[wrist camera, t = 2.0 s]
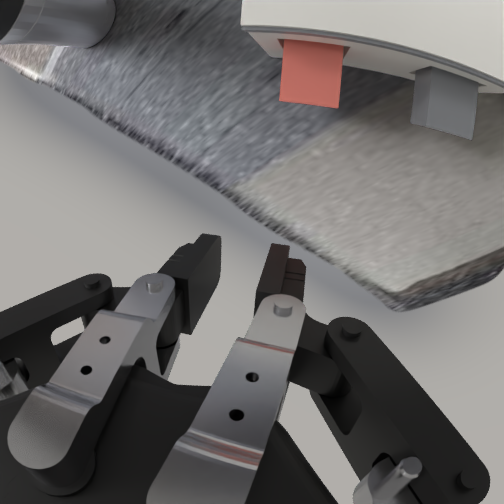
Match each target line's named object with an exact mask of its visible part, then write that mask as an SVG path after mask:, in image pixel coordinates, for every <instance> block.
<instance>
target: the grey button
mask: <svg viewBox="0 0 504 504" xmlns="http://www.w3.org/2000/svg"><path fill="white" fill-rule="evenodd" d="M478 86H479V82H476V81H473V80H471V79H468V78H466V77H463V76H460V75H457V74H454V73H452V72H449V71H446V70H443V69H440V68H436V67H433V66H428V67H425V68H422V69H419V70H416V73H415V85H414V95H413V104H412V113H411V121H410V123H411V124H415V125H419V126H423V127H427V128H431V129H434V130H438V131H441V132H445V133H448V134H452V135H455V136H459V137H462V138H466V139H469V140H472V138H473V131H474V124H475V116H476V108H477V98H478Z"/></svg>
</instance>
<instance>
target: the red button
mask: <svg viewBox="0 0 504 504" xmlns="http://www.w3.org/2000/svg"><path fill="white" fill-rule="evenodd" d="M343 49H344V46H342V45H336V44H329V43H321V42H313V41H303V40H292V39H284V49H283V61H282V74H281V86H280V99H279V101H282V102H290V103H299V104H307V105H315V106H322V107H329V108H338V106H339V96H340V86H341V74H342V62H343Z"/></svg>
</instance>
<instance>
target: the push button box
mask: <svg viewBox="0 0 504 504" xmlns="http://www.w3.org/2000/svg"><path fill="white" fill-rule="evenodd" d="M240 25H241V26H242V28H241V30H242V31H243V32H248V33H249V34H250V35H251V36H252V37H253V38H254V39H255V41H256V42H257V43H258V44H259V45H260V46H261V47H262V48H263V49H264V50H265V51H266V52H267V54H268V55H269V56H270V57H273V58H283V49H284V39H292V40H303V41H313V42H321V43H329V44H336V45H342V46H344V49H343V62H342V65H344V66H350V67H356V68H361V69H367V70H372V71H376V72H381V73H386V74H390V75H394V76H399V77H403V78H407V79H410V80H414V81H415V73H416V70H419V69H422V68H425V67H428V66H433V67H436V68H440V69H443V70H446V71H449V72H452V73H454V74H457V75H460V76H463V77H466V78H468V79H471V80H473V81H476V82H479V86H478V93H504V0H243V1H242V12H241V24H240Z"/></svg>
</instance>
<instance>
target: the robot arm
mask: <svg viewBox="0 0 504 504" xmlns="http://www.w3.org/2000/svg"><path fill="white" fill-rule="evenodd" d="M115 10H116V8H115V3H114V1H113V0H0V45H4V44H27V45H50V46H63V47H74V48H88V47H91V46H93V45H95V44H97V43H98V42H100V41H101V40H102V39H103V38H104V37H105V35H106V34H107V33H108V31H109V30H110V28H111V26H112V24H113V21H114V18H115ZM289 249H290V246H288V245H281V244H274V243H272V244H271V247H270V250H269V253H268V256H267V259H266V262H265V266H264V268H263V272H262V275H261V278H260V281H259V284H258V287H257V290H256V298H255V308H254V319H253V320H252V323H251V325H250V327H249V329H248V331H247V333H246V335H245V337H244V338H240V337H238V338H237V339H236V341H235V343H234V344H233V346H232V348H231V350H230V352H229V354H228V356H227V358H226V360H225V362H224V364H223V366H222V368H221V370H220V371H219V373H218V375H217V377H216V379H215V381H214V383H213V385H212V386H192V385H176V384H173V383H171V382H169V381H167V380H168V377H169V375H170V372H171V369H172V367H173V364H174V361H175V359H176V356H177V354H178V351H179V348H180V339H179V335H180V333H185V334H189V335H191V334H192V332H193V330H194V328H195V327H196V325H197V322H198V321H199V319H200V317H201V315H202V313H203V311H204V309H205V307H206V305H207V304H208V302H209V300H210V298H211V296H212V294H213V292H214V291H215V289H216V287H217V285H218V282H219V278H220V272H221V237H220V236H217V235H210V234H201V235H200V237H199V238H198V239H197V240H196V242H195V243H194V244H190V243H188V244H186V245H184V246H181V247H179V248H178V249H177V250H176V252H175V253H174V254H173V255H172V256H171V257H170V258H169V260H168V261H167V262H166V263H165V264H164V265H163V266H162V268H161V269H160V270H159V271H158V272H157V273H153V274H147V275H144V276H142V277H140V278H139V279H137V280H136V281H135V283H134V284H133V285H132V287H112V282H111V279H110V277H108V276H107V275H104V274H89V275H86V276H83V277H81V278H78V279H76V280H73V281H71V282H69V283H66V284H64V285H62V286H59V287H57V288H54V289H52V290H50V291H47V292H45V293H43V294H40V295H38V296H36V297H34V298H31V299H29V300H27V301H24V302H22V303H20V304H18V305H15V306H13V307H11V308H9V309H6V310H4V311H2V312H0V504H338V503H337V501H336V500H335V499H334V497H333V496H332V495H331V493H330V492H329V490H328V489H327V488H326V486H325V485H324V484H323V482H322V481H321V479H320V478H319V477H318V475H317V474H316V473H315V471H314V470H313V468H312V467H311V466H310V464H309V463H308V461H307V460H306V458H305V457H304V455H303V454H302V453H301V451H300V450H299V448H298V447H297V445H296V444H295V442H294V441H293V439H292V438H291V437H290V435H289V433H288V432H287V431H286V430H285V428H284V427H283V426H282V425H281V424H280V423H279V422H278V421H279V417H280V414H281V410H282V407H283V403H284V400H285V397H286V393H287V389H288V386H289V383H290V382H293V383H295V384H297V385H300V386H302V387H305V388H307V389H309V390H310V395H311V397H312V399H313V401H314V402H315V404H316V406H317V408H318V409H319V411H320V413H321V414H322V416H323V418H324V420H325V421H326V423H327V425H328V427H329V428H330V430H331V432H332V434H333V435H334V437H335V439H336V440H337V442H338V444H339V446H340V447H341V449H342V451H343V453H344V454H345V456H346V458H347V459H348V461H349V463H350V464H351V466H352V468H353V469H354V471H355V473H356V475H357V476H358V478H359V480H360V483H359V484H358V485H357V486H356V488H355V490H354V493H353V503H354V504H479V503H480V502H481V501H482V500H483V499H484V498H485V496H486V495H487V493H488V491H489V487H490V476H489V472H488V470H487V468H486V467H485V465H484V464H483V462H482V461H481V460H480V459H479V457H478V456H477V455H476V454H475V452H474V451H473V450H472V448H471V447H470V446H469V445H468V443H467V442H466V441H465V440H464V438H463V437H462V436H461V435H460V433H459V432H458V431H457V430H456V429H455V427H454V426H453V425H452V423H451V422H450V421H449V420H448V418H447V417H446V416H445V415H444V414H443V412H442V411H441V410H440V409H439V408H438V406H437V405H436V404H435V403H434V401H433V400H432V399H431V398H430V397H429V396H428V394H427V393H426V392H425V391H424V390H423V388H422V387H421V386H420V385H419V384H418V382H417V381H416V380H415V379H414V378H413V376H411V374H410V373H409V372H408V371H407V370H406V368H405V367H404V366H403V365H402V364H401V362H400V361H399V360H398V359H397V358H396V357H395V356H394V354H393V353H392V352H391V351H390V350H389V349H388V347H387V346H386V345H385V344H384V343H383V342H382V341H381V339H380V338H379V337H378V336H377V335H376V334H375V333H374V332H373V330H372V329H371V328H370V327H369V326H368V325H367V324H366V323H364V322H362V321H361V320H358V319H355V318H351V317H339V318H336V319H334V320H332V321H331V322H330V323H329V325H326V324H323V323H320V322H318V321H316V320H314V319H312V318H311V317H309V316H308V315H307V314H306V307H305V305H304V304H303V296H304V285H305V273H306V266H305V265H304V263H303V262H302V260H300V259H292V258H288V257H289ZM79 317H81V318H82V321H83V325H84V328H85V330H84V332H82V333H80V334H78V335H76V336H74V337H72V338H69V339H67V340H65V341H63V342H62V343H59V344H57V345H53V344H52V342H51V334H52V332H53V331H54V330H55V329H56V328H58V327H60V326H62V325H64V324H66V323H69V322H71V321H73V320H75V319H77V318H79Z"/></svg>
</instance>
